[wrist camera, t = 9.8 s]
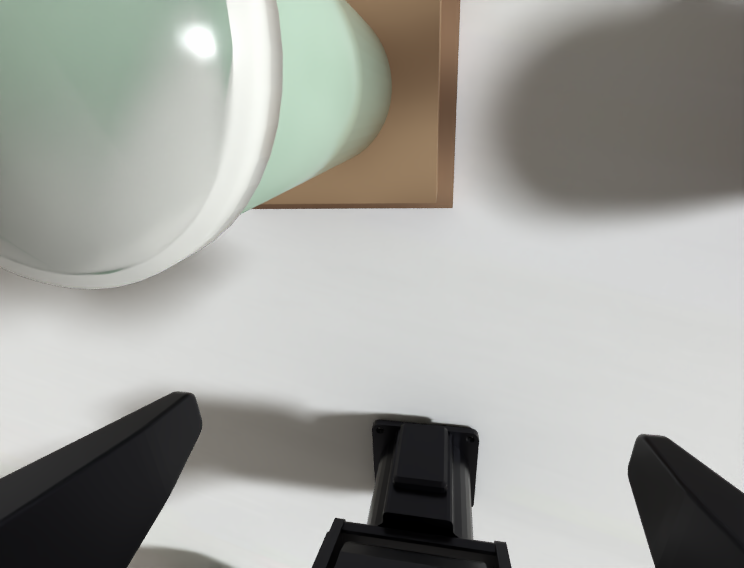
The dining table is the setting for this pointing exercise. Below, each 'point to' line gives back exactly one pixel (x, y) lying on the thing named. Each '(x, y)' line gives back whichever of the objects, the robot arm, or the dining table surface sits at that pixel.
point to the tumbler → (169, 124)
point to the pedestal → (400, 117)
